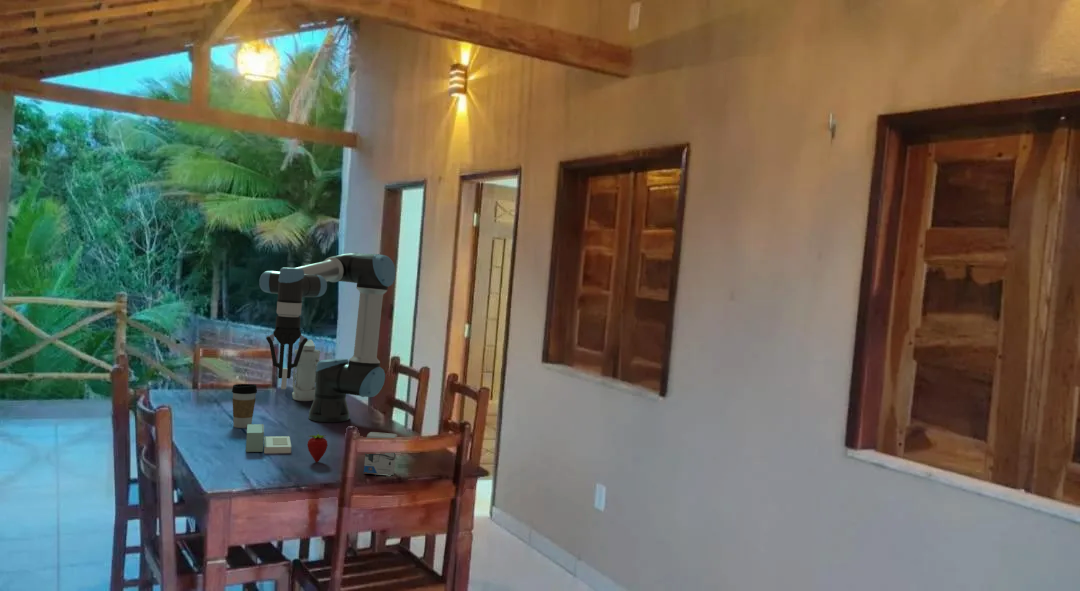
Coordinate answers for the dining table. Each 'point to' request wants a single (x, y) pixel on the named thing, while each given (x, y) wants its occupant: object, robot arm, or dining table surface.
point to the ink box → (380, 458)
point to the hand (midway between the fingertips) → (283, 388)
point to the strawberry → (317, 446)
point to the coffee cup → (243, 404)
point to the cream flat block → (277, 444)
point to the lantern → (306, 373)
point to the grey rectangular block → (255, 438)
